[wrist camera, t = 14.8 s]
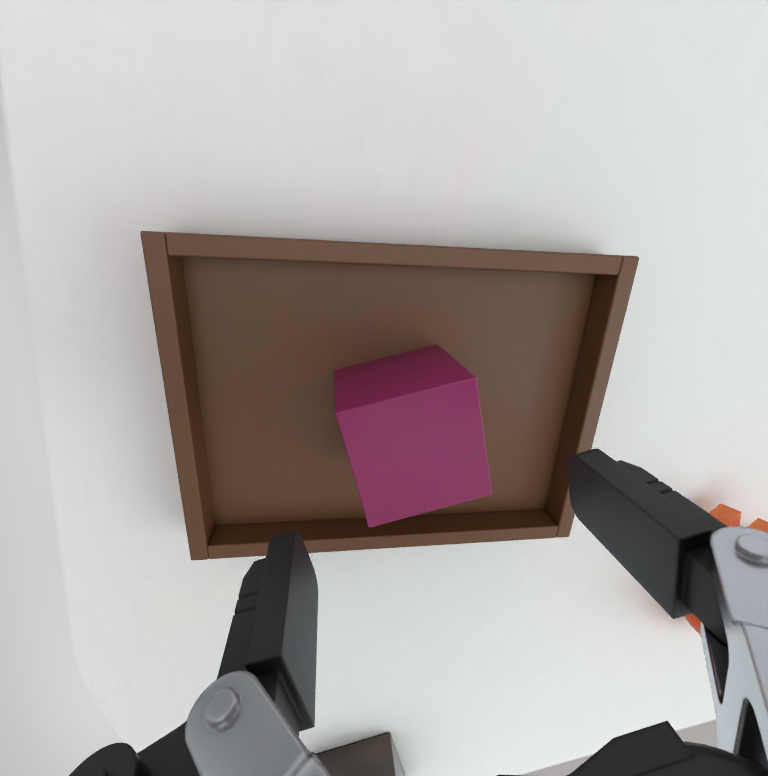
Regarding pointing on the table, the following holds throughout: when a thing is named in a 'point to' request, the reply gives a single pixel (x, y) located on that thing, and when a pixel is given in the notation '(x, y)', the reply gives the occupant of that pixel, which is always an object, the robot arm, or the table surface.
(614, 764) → the robot arm
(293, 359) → the tray
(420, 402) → the mulberry block
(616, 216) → the table surface
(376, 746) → the dark brown block
